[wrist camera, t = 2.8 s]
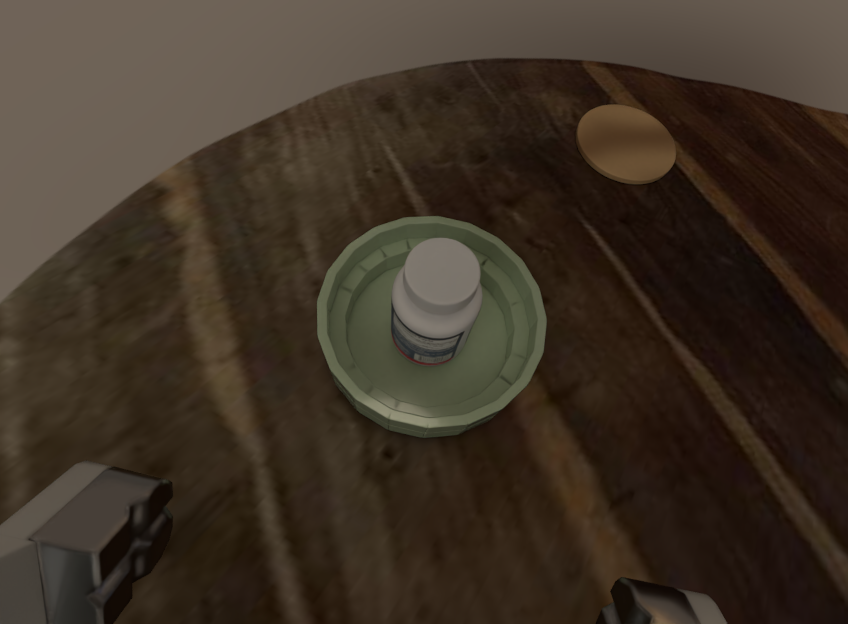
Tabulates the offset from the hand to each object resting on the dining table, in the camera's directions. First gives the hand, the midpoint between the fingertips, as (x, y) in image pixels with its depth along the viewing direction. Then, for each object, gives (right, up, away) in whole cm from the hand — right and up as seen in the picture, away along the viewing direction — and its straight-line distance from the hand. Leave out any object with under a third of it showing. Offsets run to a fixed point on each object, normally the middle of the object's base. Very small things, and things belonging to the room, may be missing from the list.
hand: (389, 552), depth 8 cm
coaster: (+19, +19, +32) cm, 42 cm away
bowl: (+1, +3, +23) cm, 24 cm away
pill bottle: (+1, +3, +23) cm, 23 cm away
